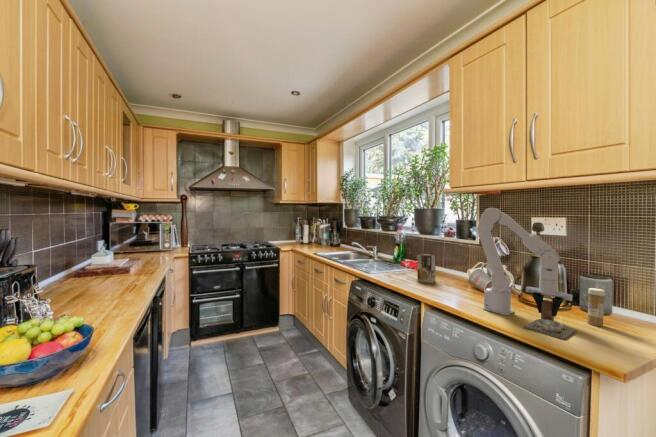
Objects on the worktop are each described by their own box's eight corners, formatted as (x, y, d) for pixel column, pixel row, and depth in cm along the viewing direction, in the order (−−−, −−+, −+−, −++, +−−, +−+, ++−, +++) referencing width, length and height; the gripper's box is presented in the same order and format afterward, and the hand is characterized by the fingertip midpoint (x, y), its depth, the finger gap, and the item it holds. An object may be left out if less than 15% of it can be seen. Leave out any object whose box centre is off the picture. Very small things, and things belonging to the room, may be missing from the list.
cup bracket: (523, 327, 104) (523, 321, 104) (536, 321, 111) (536, 314, 111) (564, 340, 94) (564, 332, 94) (576, 331, 101) (576, 324, 101)
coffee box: (435, 281, 174) (436, 255, 174) (431, 283, 169) (431, 256, 169) (421, 279, 180) (422, 253, 180) (416, 280, 176) (417, 254, 175)
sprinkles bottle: (583, 322, 110) (585, 287, 110) (594, 322, 111) (595, 287, 111) (596, 327, 106) (597, 290, 106) (607, 326, 106) (608, 290, 106)
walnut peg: (539, 318, 113) (539, 300, 113) (543, 316, 115) (543, 299, 115) (551, 321, 110) (552, 303, 109) (555, 319, 112) (555, 301, 112)
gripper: (575, 282, 108) (574, 317, 109) (531, 275, 120) (530, 307, 121) (569, 284, 104) (568, 321, 105) (524, 277, 116) (523, 310, 116)
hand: (547, 314), depth 112 cm, fingers closed on walnut peg, 4 cm apart
